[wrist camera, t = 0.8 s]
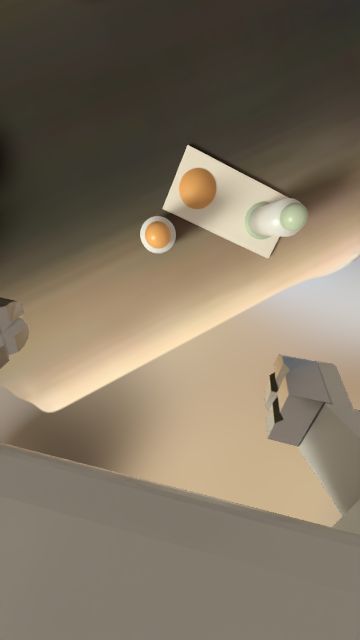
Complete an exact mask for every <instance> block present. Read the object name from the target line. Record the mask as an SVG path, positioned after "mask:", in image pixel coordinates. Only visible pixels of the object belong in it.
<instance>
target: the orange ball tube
mask: <svg viewBox="0 0 360 640" xmlns="http://www.w3.org/2000/svg"><path fill="white" fill-rule="evenodd" d="M140 236H141V241H142V243H143V245H144V246H145V247H146V248H147V249H148V250H149V251H151V252H154V253H163V252H166V251H168V250H169V249H170V248H171V247H172V246H173V244H174V242H175V239H176V231H175V228H174V226H173V224H172V223H171V222H170V221H169V220H168V219H166V218H164V217H161V216H155V217H151V218H149V219H148V220H146V221H145V223H144V224H143V226H142V228H141V232H140Z"/></svg>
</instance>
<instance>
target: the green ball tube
mask: <svg viewBox="0 0 360 640" xmlns="http://www.w3.org/2000/svg"><path fill="white" fill-rule="evenodd" d="M307 220H308V211H307V209H306V207H305V206H304V205H302V204H301V203H300V202H299V201H298V200H296V199H292V198H288V199H283V200H280V201H276V202H273V203H269V204H266V205H262V206H259V207H257V208H255V209H254V210H253V211H252V212H251V214H250V216H249V220H248V224H249V228H250V230H251V231H252V232H253V233H254V234H256V235H258V236H285V237H286V236H292V235H294V234H296V233H297V232H298V231H299V230H300V229H301V228H302V227H303V226H304V225H305V224H306V222H307Z"/></svg>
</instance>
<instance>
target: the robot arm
mask: <svg viewBox="0 0 360 640" xmlns="http://www.w3.org/2000/svg"><path fill="white" fill-rule="evenodd" d="M23 315H24V310H23V307H22V304H20V303H19V302H17V301H14V300H9V299H5V298H0V369H1V368H2V367H3V366H4V365H5V364H6V363H7V362H8V361H9V355H11V354H14V353H16V352H19V351H20V350H21V349H22V348H23V347H24V346H25V343H26V341H27V339H28V332H29V331H28V326H27V324H26V323H25V322H24V320H23V319H22V316H23ZM274 369H275V372H274V373H273V374H271V375H270V376H269V378H268V381H267V385H266V389H265V406H266V408H267V409H268V410H269V413H268V415H267V417H266V424H267V437H268V439H271V440H275V441H279V442H283V443H287V444H290V445H294V446H298V447H299V450H300V451H301V453H302V454H303V456H304V458H305V459H306V460H307V462H308V464H309V465H310V467H311V468H312V470H313V471H314V473H315V474H316V476H317V477H318V479H319V480H320V482H321V484H322V485H323V487H324V488H325V490H326V491H327V493H328V494H329V496H330V497H331V499H332V500H333V502H334V503H335V505H336V506H337V508H338V509H339V511H340V513H341V514H342V515H343V517H342V518H341V519H340V520H339V521H338V522H337V523H336V524H335V525H334V526H333V527H332V528H331V527H327V526H324V525H320V524H315V523H312V522H308V521H304V520H300V519H296V518H292V517H289V516H285V515H281V514H277V513H273V512H269V511H265V510H261V509H257V508H253V507H250V506H245V505H242V504H238V503H234V502H230V501H226V500H222V499H218V498H214V497H211V496H207V495H203V494H199V493H195V492H191V491H187V490H183V489H179V488H175V487H172V486H168V485H163V484H159V483H156V482H152V481H148V480H144V479H140V478H136V477H132V476H128V475H125V474H121V473H117V472H113V471H109V470H105V469H101V468H97V467H93V466H89V465H85V464H82V463H78V462H74V461H70V460H66V459H62V458H58V457H54V456H50V455H47V454H42V453H39V452H35V451H31V450H27V449H23V448H19V447H15V446H11V445H7V444H3V443H0V640H360V410H356V409H353V407H352V404H351V402H350V399H349V397H348V394H347V392H346V390H345V387H344V385H343V382H342V380H341V377H340V375H339V372H338V370H337V367H336V366H335V365H334V364H331V363H325V362H320V361H311V360H306V359H300V358H296V357H291V356H285V355H280V354H279V355H278V357H277V358H276V361H275V363H274Z"/></svg>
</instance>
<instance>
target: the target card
mask: <svg viewBox="0 0 360 640" xmlns="http://www.w3.org/2000/svg"><path fill="white" fill-rule="evenodd" d="M283 199H288V197H286V196H285V195H283V194H281V193H279V192H277V191H275V190H273V189H271V188H269V187H267V186H265V185H263V184H262V183H260V182H258V181H256V180H254V179H252V178H250V177H248V176H246V175H244V174H242V173H240V172H239V171H237V170H235V169H233V168H231V167H229V166H227V165H225V164H223V163H221V162H219V161H217V160H216V159H214V158H212V157H210V156H208V155H206V154H204V153H202V152H200V151H198V150H196V149H195V148H193V147H191V146H189V145H188V146H187V148H186V151H185V153H184V156H183V158H182V161H181V163H180V166H179V168H178V171H177V173H176V176H175V178H174V181H173V184H172V186H171V189H170V191H169V194H168V196H167V199H166V201H165V204H164V206H163V209H164V210H166V211H168V212H170V213H172V214H174V215H176V216H178V217H181V218H183V219H185V220H187V221H189V222H191V223H193V224H195V225H198V226H200V227H202V228H204V229H206V230H208V231H210V232H212V233H215V234H217V235H219V236H221V237H223V238H225V239H227V240H229V241H232V242H234V243H236V244H238V245H240V246H242V247H244V248H246V249H248V250H251V251H253V252H255V253H257V254H259V255H261V256H263V257H265V258H269V256H270V254H271V253H272V251H273V249H274V247H275V245H276V243H277V241H278V239H279V237H280V236H258V235H256V234H254V233H253V232H252V231H251V230H250V228H249V224H248V220H249V216H250V214H251V212H252V211H253V210H254V209H255V208H257V207H259V206H262V205H266V204H269V203H273V202H276V201H280V200H283Z"/></svg>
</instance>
